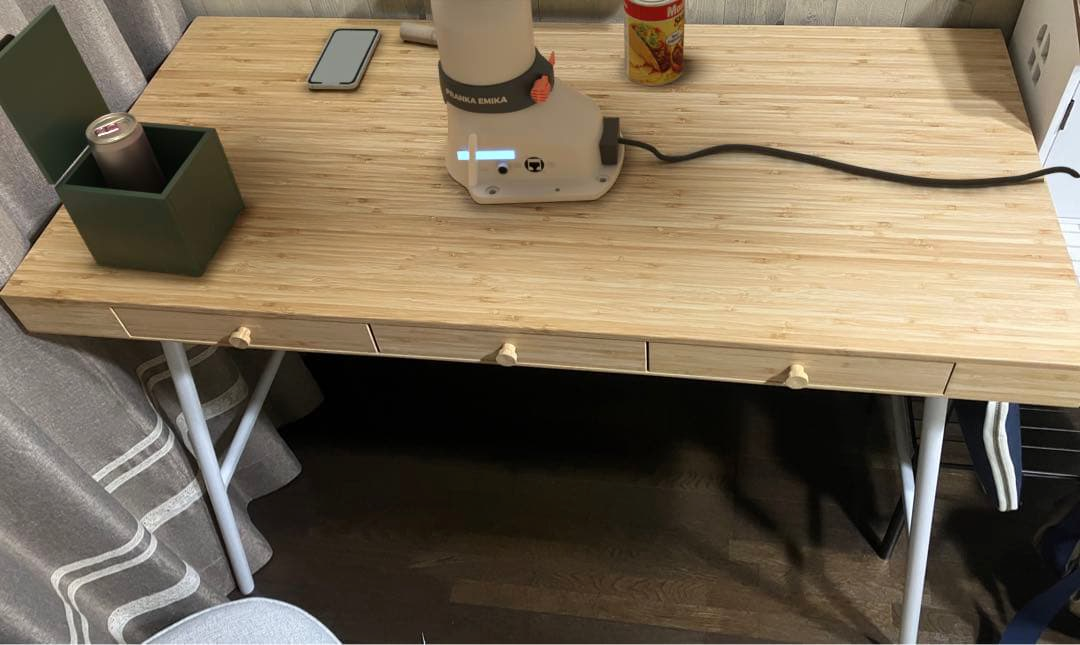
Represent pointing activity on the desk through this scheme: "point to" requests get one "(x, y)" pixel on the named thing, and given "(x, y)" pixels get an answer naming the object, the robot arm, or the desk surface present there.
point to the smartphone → (344, 58)
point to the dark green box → (158, 205)
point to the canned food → (654, 40)
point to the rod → (418, 33)
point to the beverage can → (125, 154)
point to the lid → (48, 93)
